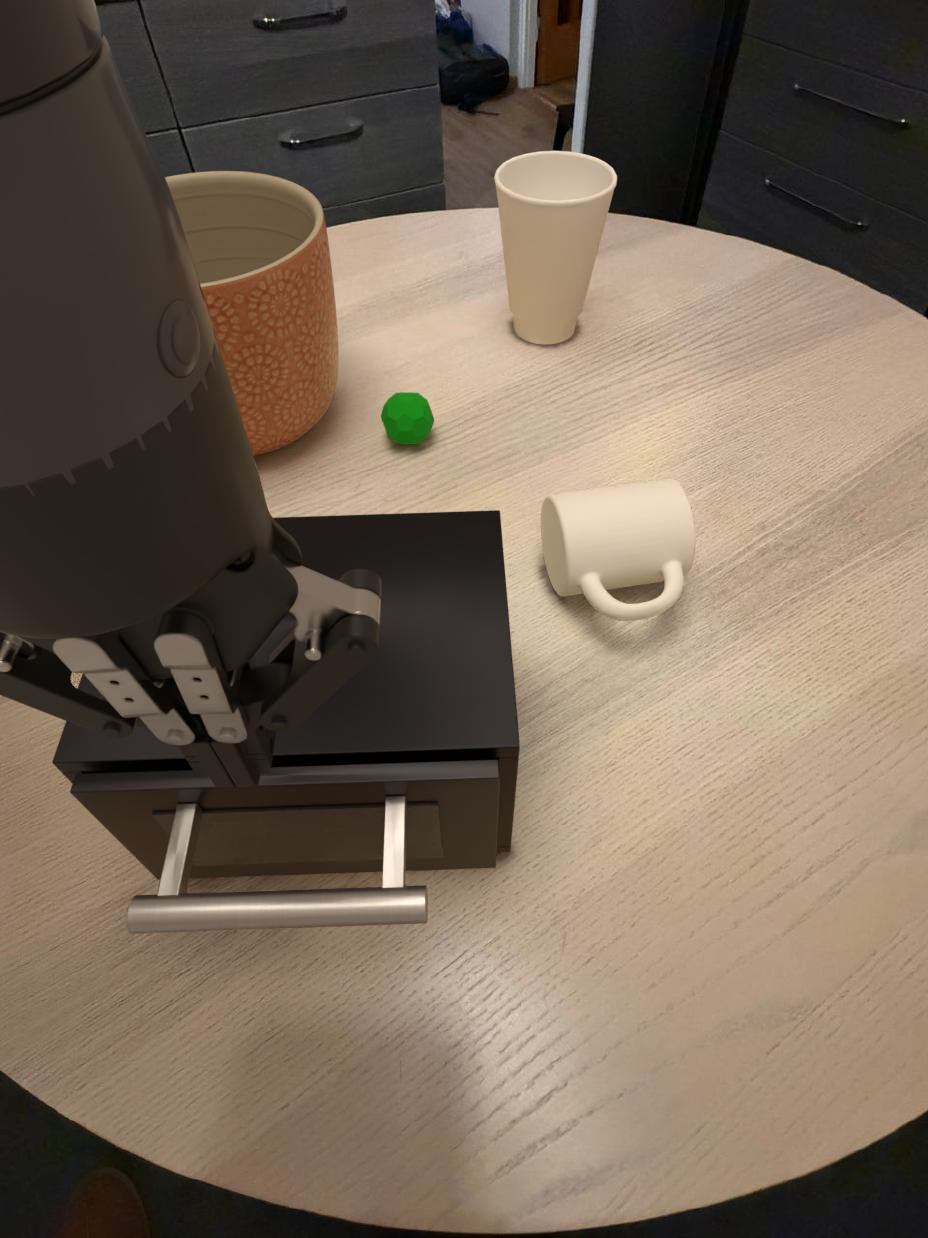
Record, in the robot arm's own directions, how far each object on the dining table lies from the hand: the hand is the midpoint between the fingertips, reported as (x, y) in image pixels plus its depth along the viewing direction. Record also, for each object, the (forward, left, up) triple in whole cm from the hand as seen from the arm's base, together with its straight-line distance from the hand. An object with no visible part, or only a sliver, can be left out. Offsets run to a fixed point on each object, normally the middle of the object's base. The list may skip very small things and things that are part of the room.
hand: (242, 764), depth 28 cm
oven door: (0, 0, -18) cm, 18 cm away
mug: (+21, +25, -21) cm, 39 cm away
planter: (-12, +49, -21) cm, 55 cm away
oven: (0, +11, -21) cm, 24 cm away
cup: (+19, +64, -21) cm, 71 cm away
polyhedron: (+4, +45, -21) cm, 50 cm away
